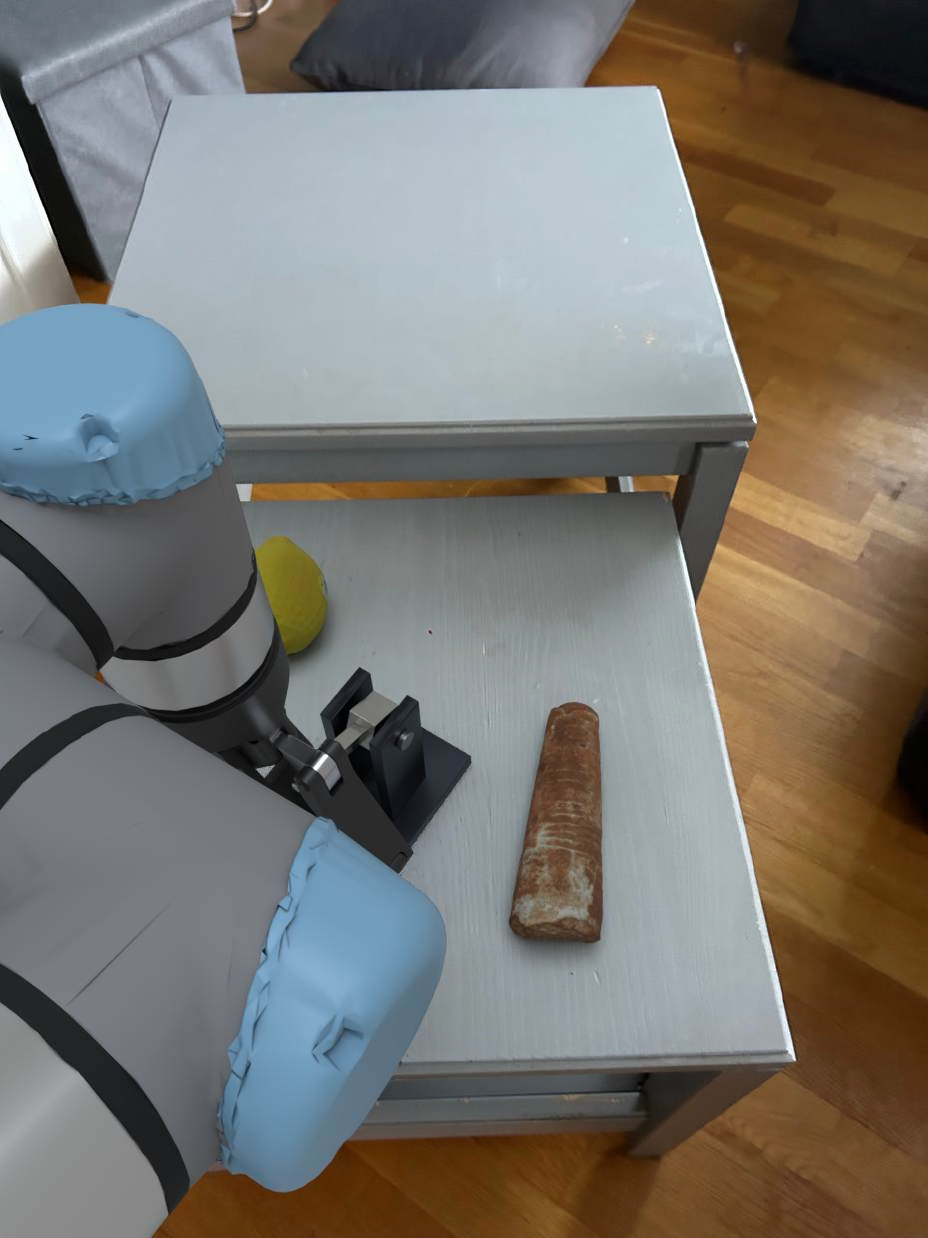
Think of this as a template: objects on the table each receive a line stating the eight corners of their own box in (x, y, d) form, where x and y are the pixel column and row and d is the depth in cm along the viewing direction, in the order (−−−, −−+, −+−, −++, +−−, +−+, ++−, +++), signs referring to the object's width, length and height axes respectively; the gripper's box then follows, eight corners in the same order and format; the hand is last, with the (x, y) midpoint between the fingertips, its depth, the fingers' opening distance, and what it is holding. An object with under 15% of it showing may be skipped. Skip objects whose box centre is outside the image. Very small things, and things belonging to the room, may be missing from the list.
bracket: (390, 877, 69) (375, 806, 59) (294, 814, 72) (263, 736, 62) (471, 762, 74) (471, 679, 64) (379, 708, 77) (364, 619, 67)
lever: (293, 862, 55) (297, 836, 54) (216, 810, 57) (217, 783, 56) (416, 743, 65) (422, 718, 64) (347, 701, 67) (351, 676, 66)
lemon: (321, 681, 79) (307, 627, 72) (230, 673, 79) (208, 619, 73) (344, 577, 85) (333, 519, 78) (259, 571, 85) (241, 512, 79)
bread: (505, 947, 66) (507, 923, 62) (542, 712, 77) (546, 677, 72) (594, 964, 66) (603, 941, 61) (620, 724, 76) (629, 689, 72)
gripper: (479, 714, 39) (477, 887, 56) (54, 472, 47) (168, 689, 64) (370, 863, 35) (404, 997, 53) (-69, 574, 43) (87, 774, 61)
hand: (275, 828), depth 59 cm, fingers open, 13 cm apart
